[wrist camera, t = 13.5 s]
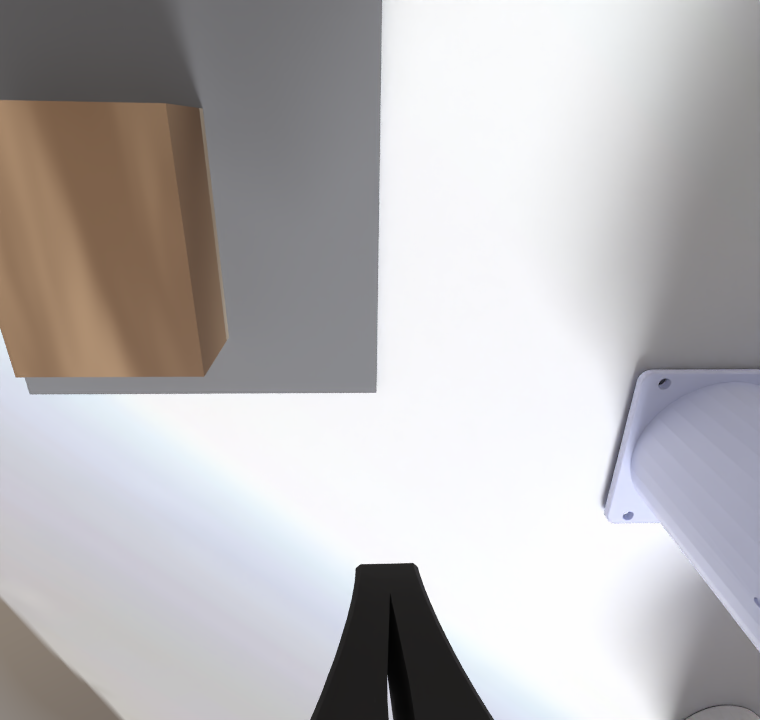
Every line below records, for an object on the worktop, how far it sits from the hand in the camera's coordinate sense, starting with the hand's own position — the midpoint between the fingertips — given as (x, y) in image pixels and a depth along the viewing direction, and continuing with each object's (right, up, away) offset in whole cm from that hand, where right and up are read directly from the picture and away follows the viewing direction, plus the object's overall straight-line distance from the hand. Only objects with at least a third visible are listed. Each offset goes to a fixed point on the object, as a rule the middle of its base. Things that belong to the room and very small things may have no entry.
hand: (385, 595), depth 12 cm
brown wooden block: (-6, +9, +5) cm, 12 cm away
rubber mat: (-7, +11, +6) cm, 14 cm away
